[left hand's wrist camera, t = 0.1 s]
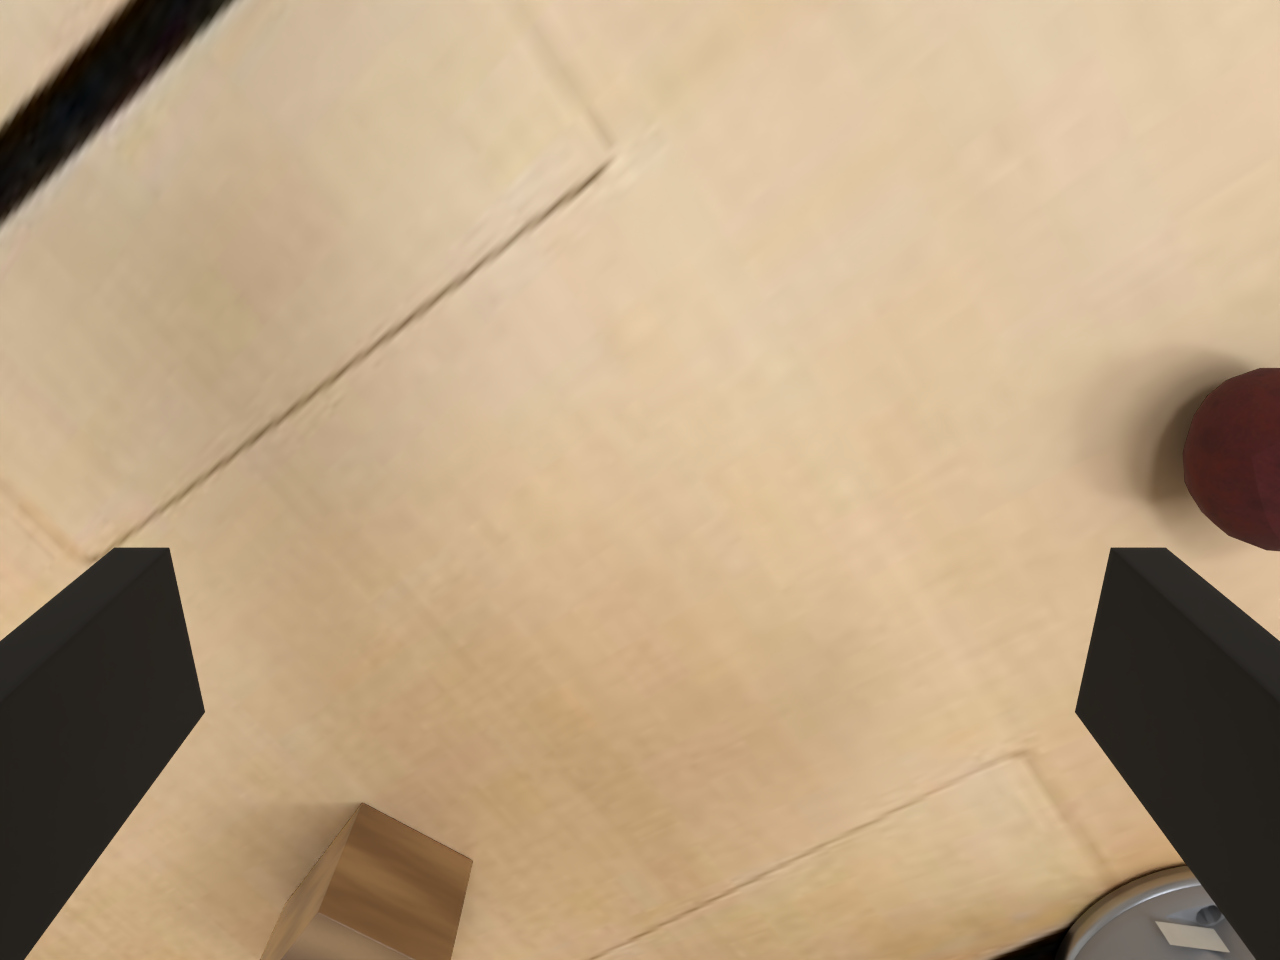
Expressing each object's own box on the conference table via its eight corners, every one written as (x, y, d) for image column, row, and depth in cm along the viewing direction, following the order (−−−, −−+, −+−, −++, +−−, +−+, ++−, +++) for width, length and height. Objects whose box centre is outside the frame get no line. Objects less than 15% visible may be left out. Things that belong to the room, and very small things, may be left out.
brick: (392, 956, 54) (356, 1079, 47) (284, 904, 52) (231, 1023, 45) (473, 860, 51) (447, 976, 44) (362, 801, 49) (318, 912, 42)
